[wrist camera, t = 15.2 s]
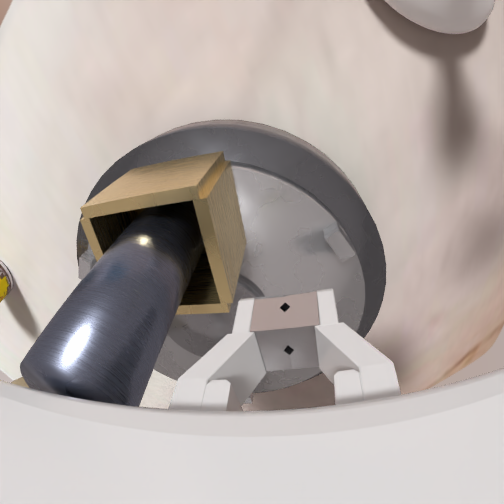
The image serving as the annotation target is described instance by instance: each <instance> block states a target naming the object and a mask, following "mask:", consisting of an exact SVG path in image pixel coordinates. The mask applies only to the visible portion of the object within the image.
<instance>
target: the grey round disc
mask: <svg viewBox="0 0 504 504" xmlns="http://www.w3.org/2000/svg"><path fill="white" fill-rule="evenodd" d="M191 200H193V203H194V207H195V211H196V215H197V219H198V223H199V226H200V230H201V234H202V238H203V241H204V245H205V247H204V249H203V251H202V254H201V256H200V258H199V260H198V263H197V265H196V267H195V270H194V272H193V274H192V277H191V279H190V281H189V283H188V286H187V288H186V290H185V293H184V295H183V298H182V300H181V302H180V305H179V307H178V309H177V312H176V314H175V317H174V319H173V321H172V324H171V326H170V329H169V331H168V334H167V336H166V338H165V341H164V343H163V346H162V348H161V351H160V353H159V356H158V358H157V361H156V363H155V366H154V370H156V371H158V372H160V373H162V374H164V375H166V376H168V377H170V378H172V379H174V380H178V378H179V377H181V376H182V375H183V374H184V373H185V372H186V371H187V370H188V369H190V368H191V367H192V366H193V365H194V364H195V363H196V362H197V361H198V360H200V359H201V358H202V357H203V356H204V355H205V354H206V353H207V352H208V351H209V350H211V349H212V348H213V347H214V346H215V345H216V344H217V343H218V342H219V341H220V340H221V339H223V338H224V337H225V336H226V335H227V334H232V330H233V325H234V320H235V315H236V311H237V306H238V302H239V300H240V299H246V298H256V297H267V296H278V295H290V294H298V293H306V292H314V291H317V290H324V289H330V288H332V289H333V291H334V297H335V303H336V309H337V315H338V321H339V323H342V322H344V323H345V324H346V325H347V326H349V327H350V328H351V329H352V330H354V331H355V332H357V330H358V328H359V325H360V322H361V319H362V316H363V311H364V304H365V282H364V277H363V273H362V268H361V264H360V261H359V258H358V256H357V253H356V251H355V248H354V246H353V243H352V241H351V239H350V237H349V235H348V234H347V232H346V230H345V229H344V227H343V225H342V224H341V222H340V221H339V220H338V219H337V218H336V216H335V215H334V214H333V213H332V212H331V210H330V209H329V208H328V207H327V206H326V205H325V204H324V203H322V202H321V201H320V200H319V199H318V198H317V197H316V196H315V195H313V194H312V193H311V192H309V191H308V190H306V189H305V188H303V187H302V186H300V185H299V184H297V183H295V182H294V181H292V180H290V179H288V178H286V177H284V176H281V175H279V174H277V173H275V172H273V171H270V170H267V169H264V168H261V167H257V166H254V165H251V164H245V163H240V162H234V161H230V160H225V158H224V153H223V151H220V152H215V153H209V154H203V155H197V156H192V157H187V158H182V159H176V160H171V161H167V162H162V163H157V164H152V165H148V166H143V167H139V168H135V169H131V170H130V171H128V172H127V173H125V174H124V175H123V176H121V177H120V178H119V179H117V180H116V181H115V182H113V183H112V184H110V185H109V186H108V187H106V188H105V189H104V190H102V191H101V192H100V193H99V194H97V195H96V196H95V197H93V198H92V199H91V200H90V201H88V202H87V203H86V204H85V205H83V206H82V207H81V211H82V214H83V218H82V219H81V220H80V221H81V224H82V227H83V229H84V232H85V234H86V237H87V239H88V242H89V244H88V250H86V251H85V252H84V253H83V254H82V255H81V257H80V258H79V278H80V279H83V278H84V277H85V276H86V275H87V273H88V272H89V271H90V270H91V269H92V267H93V266H94V265H95V264H96V263H97V261H98V260H99V259H100V258H101V257H102V255H103V254H104V253H105V252H106V251H107V250H108V248H109V247H110V246H111V245H112V244H113V243H114V242H115V240H116V239H117V238H118V237H119V236H120V235H121V234H122V233H123V231H124V230H125V229H126V228H127V227H128V226H129V225H130V224H131V223H132V222H133V220H134V219H135V218H136V217H137V216H138V215H139V214H140V213H141V212H142V211H143V210H144V209H145V208H147V207H153V206H159V205H165V204H171V203H178V202H184V201H191ZM319 372H321V369H320V368H319V367H313V368H299V369H287V370H277V371H267V372H266V374H265V376H264V377H263V378H262V380H261V381H260V382H259V384H258V385H257V386H256V388H255V389H254V390H253V392H252V393H251V394H250V396H249V397H248V398H247V400H246V401H245V402H244V403H252V401H253V393H260V392H268V391H274V390H278V389H282V388H286V387H289V386H292V385H295V384H298V383H300V382H302V381H305V380H307V379H309V378H311V377H313V376H314V375H316V374H318V373H319Z"/></svg>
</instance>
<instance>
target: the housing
mask: <svg viewBox="0 0 504 504" xmlns="http://www.w3.org/2000/svg"><path fill="white" fill-rule="evenodd" d="M220 151H223V153H224V158H225V160H230V161H234V162H240V163H245V164H251V165H254V166H257V167H261V168H264V169H267V170H270V171H273V172H275V173H277V174H279V175H281V176H284V177H286V178H288V179H290V180H292V181H294V182H295V183H297V184H299V185H300V186H302V187H303V188H305V189H306V190H308V191H309V192H311V193H312V194H313V195H315V196H316V197H317V198H318V199H319V200H320V201H321V202H322V203H324V204H325V205H326V206H327V207H328V208H329V209H330V210H331V212H332V213H333V214H334V215H335V216H336V218H337V219H338V220H339V221H340V222H341V224H342V225H343V227H344V229H345V230H346V232H347V234H348V235H349V237H350V239H351V241H352V243H353V246H354V248H355V251H356V253H357V256H358V258H359V261H360V264H361V268H362V273H363V277H364V282H365V304H364V311H363V316H362V319H361V322H360V325H359V328H358V330H357V332H356V333H357V334H359V335H360V336H361V337H362V338H364V337H365V336H366V335H367V333H368V332H369V330H370V329H371V327H372V325H373V323H374V321H375V319H376V317H377V315H378V313H379V310H380V307H381V304H382V301H383V296H384V291H385V285H386V261H385V255H384V249H383V244H382V241H381V238H380V235H379V233H378V230H377V227H376V224H375V223H374V221H373V219H372V217H371V215H370V213H369V211H368V210H367V208H366V206H365V204H364V202H363V201H362V199H361V197H360V195H359V193H358V192H357V190H356V188H355V187H354V185H353V184H352V182H351V181H350V180H349V179H348V177H347V176H346V175H345V174H344V172H343V171H342V170H341V169H340V168H339V167H338V166H337V165H336V164H335V163H334V162H333V161H332V160H331V159H329V158H328V157H327V156H326V155H325V154H324V153H322V152H321V151H319V150H318V149H317V148H315V147H314V146H312V145H311V144H309V143H308V142H306V141H304V140H302V139H300V138H298V137H296V136H294V135H292V134H290V133H288V132H286V131H283V130H280V129H277V128H274V127H271V126H268V125H264V124H260V123H254V122H248V121H242V120H210V121H202V122H195V123H191V124H188V125H184V126H181V127H177V128H174V129H172V130H169V131H167V132H165V133H163V134H161V135H159V136H157V137H155V138H153V139H151V140H149V141H147V142H145V143H144V144H142V145H140V146H138V147H137V148H135V149H133V150H132V151H130V152H129V153H127V154H126V155H125V156H123V157H122V158H121V159H119V160H118V161H116V162H115V163H114V164H113V165H112V166H111V167H110V168H109V169H108V170H107V171H106V172H105V173H104V174H103V175H102V177H101V178H100V180H99V181H98V182H97V184H96V185H95V187H94V188H93V190H92V191H91V193H90V195H89V197H88V199H87V201H86V203H87V202H88V201H90V200H91V199H92V198H93V197H95V196H96V195H97V194H99V193H100V192H101V191H102V190H104V189H105V188H106V187H108V186H109V185H110V184H112V183H113V182H115V181H116V180H117V179H119V178H120V177H121V176H123V175H124V174H125V173H127V172H128V171H130V170H131V169H135V168H139V167H143V166H148V165H152V164H157V163H162V162H167V161H171V160H176V159H182V158H187V157H192V156H197V155H203V154H209V153H215V152H220ZM86 203H85V204H86ZM82 218H83V214H81V218H80V220H81V219H82ZM88 244H89V242H88V239H87V237H86V234H85V232H84V229H83V227H82V224H81V221H79V226H78V234H77V260H78V266H79V258H80V257H81V255H82V254H83V253H84V252H85V251H86V250H88ZM321 373H323V372H322V371H321V372H319V373H318V374H316V375H314V376H313V377H315V376H317V375H319V374H321ZM313 377H311V378H313ZM311 378H309V379H311ZM307 380H308V379H307ZM302 382H303V381H302Z"/></svg>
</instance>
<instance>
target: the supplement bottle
mask: <svg viewBox="0 0 504 504" xmlns="http://www.w3.org/2000/svg"><path fill="white" fill-rule="evenodd" d="M12 286H13V281H12V277H11V274H10V272H9V270H8V269H7V267H6V266H5V265H4V264H3V263H2V262H1V261H0V302H1V301H2V300H3V299H4V298H5V296H6V295H7V294H8V293H9V292H10V291H11V289H12Z"/></svg>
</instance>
